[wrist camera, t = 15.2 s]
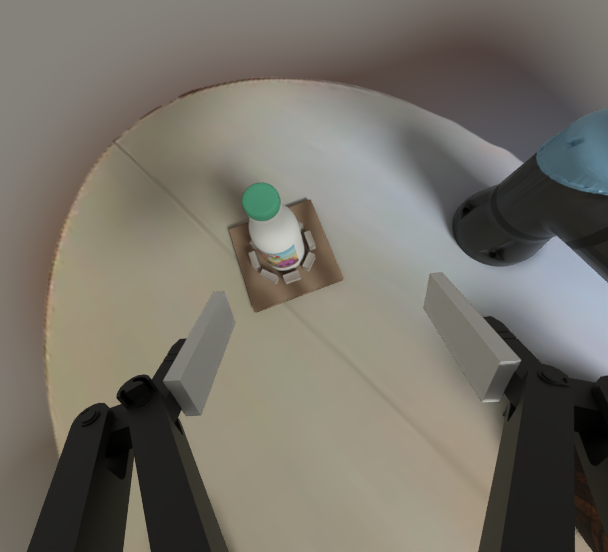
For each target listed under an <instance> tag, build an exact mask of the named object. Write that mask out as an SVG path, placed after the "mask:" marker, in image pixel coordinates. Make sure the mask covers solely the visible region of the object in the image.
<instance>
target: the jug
mask: <svg viewBox="0 0 608 552" xmlns="http://www.w3.org/2000/svg"><path fill="white" fill-rule="evenodd" d="M574 501H575V526H576V528H577V529H578V531H579V533H580V534H581V536H582V537H583V539H584V540H585V542H586V543H587V544H588V546H589V547H590V548H591V550H592V551H593V552H608V540H607V537H606V534H605V531H604V529H603V526H602V523H601V520H600V517H599V514H598V511H597V508H596V505H595V502H594V499H593V496H592V493H591V490H590V487H589V484H588V481H587V479H586V476H585V473H584V470H583V467H582V464H581V461H580V458H579V455H578V452H577V449H576V446H575V443H574Z"/></svg>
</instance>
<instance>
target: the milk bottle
mask: <svg viewBox="0 0 608 552" xmlns="http://www.w3.org/2000/svg"><path fill="white" fill-rule="evenodd" d="M242 206H243V208H244V210H245V212H246V214H247V215H248V217H249V218H250V219H249V233H250V236H251V239H252V241H253V242H254V244H255V246H256V247H257V249H258V250H259V251H260V253H261V254H262V255H263V257H264V258H265V259H266V261H267V262H268V263H269V264H270V265H271V266H272V267H273V268H275V269H277V270H280V271H289V270H292V269H294V268H296V267H297V266H298V265H299V264H300V263H301V262H302V260H303V257H304V245H303V240H302V236H301V232H300V228H299V225H298V222H297V219H296V217H295V215H294V214H293V212H292V211H291V210H290V209H289V208H288V207H286V206H285V205H283V204H281V200H280V197H279V194H278V192H277V190H276V189H275V188H274V187H273V186H272V185H270V184H267V183H256V184H253V185H251V186H250V187H249V188H247V189H246V191H245V192H244V194H243V197H242Z"/></svg>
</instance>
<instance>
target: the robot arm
mask: <svg viewBox="0 0 608 552" xmlns="http://www.w3.org/2000/svg"><path fill="white" fill-rule="evenodd" d="M453 232H454V235H455V238H456V240H457V242H458V244H459V246H460V247H461V248H462V249H463V251H464V252H465V253H466V254H468V255H469V256H470V257H472V258H473V259H475V260H477V261H479V262H481V263H483V264H487V265H491V266H509V265H513V264H516V263H518V262H521V261H524V260H526V259H528V258H529V257H531V256H532V255H534V254H535V253H536V252H537V251H538V250H539V249H540V248H541V247H542V246H543V245H544V244H545V243H546V242H548V241H549V240H550V239H551V238H552V237H554V236H556V235H557V236H558V237H559V238H560V239H561V240H562V241H563V242H565V243H566V244H567V245H568V246H569V247H570V248H571V249H572V250H573V251H574V252H575V253H577V254H578V255H579V256H580V257H581V258H582V259H583V260H584V261H585V262H586V263H587V264H588V265H589V266H591V267H592V268H593V269H594V270H595V271H596V272H597V273H598V274H599V275H600V276H601V277H602V278H603V279H605V280H606V281H607V282H608V108H607V109H603V110H599V111H596V112H592V113H590V114H587V115H585V116H583V117H581V118H579V119H578V120H576V121H574V122H573V123H572V124H570V125H569V126H568V127H566V129H564V130H563V131H561V132H560V133H559V134H558V135H556V136H555V137H552V138H550V139H549V140H548V141H546V142H545V143H544V144H543V145H542V146H541V147H540V149H539V151H538V152H537V153H536V154H534V155H533V156H532V157H531V158H530V159H528V160H527V161H526V162H525V163H524V164H522V165H521V166H520V167H519V168H518V169H516V170H515V171H514V172H513V173H512V174H511V175H509V176H508V177H507V178H506V179H505V180H504V181H502V182H501V183H500V184H498V185H495V186H493V187H490V188H487V189H485V190H482V191H480V192H478V193H476V194H474V195H472V196H471V197H469V198H468V199H467V200H466V201H465V202H464V203H463V204H462V205H461V206H460V207H459V208H458V210H457V211H456V213H455V216H454V220H453ZM424 310H425V311H426V313H427V315H428V316H429V318H430V319H431V321H432V323H433V324H434V326H435V328H436V329H437V331H438V332H439V334H440V336H441V337H442V339H443V340H444V342H445V344H446V345H447V347H448V348H449V350H450V352H451V353H452V355H453V357H454V358H455V360H456V361H457V363H458V365H459V366H460V368H461V369H462V371H463V373H464V374H465V376H466V377H467V379H468V381H469V382H470V384H471V386H472V387H473V389H474V390H475V392H476V394H477V395H478V397H479V398H480V400H481V402H498V401H500V400H501V398H502V396H503V394H505V395H506V396H507V398H508V399H509V401H510V403H509V404H508V406H507V408H506V410H505V412H504V413H503V416H505V422H504V427H503V432H502V437H501V442H500V447H499V452H498V457H497V462H496V467H495V472H494V477H493V482H492V486H491V491H490V496H489V501H488V506H487V511H486V516H485V521H484V526H483V531H482V536H481V541H480V546H479V551H478V552H575V501H574V443H575V446H576V449H577V452H578V455H579V458H580V461H581V464H582V467H583V470H584V473H585V476H586V479H587V481H588V484H589V487H590V490H591V493H592V496H593V499H594V502H595V505H596V508H597V511H598V514H599V517H600V520H601V523H602V526H603V529H604V531H605V534H606V537H607V540H608V376H602V377H600V378H599V379H598V381H597V382H596V383H593V382H587V381H582V380H577V379H572V378H569V377H568V376H567V375H566V374H564V373H563V372H561V371H560V370H558V369H556V368H554V367H552V366H549V365H545V364H542V363H540V361H539V360H538V359H537V358H536V357H535V356H534V355H533V354H532V353H531V352H530V351H529V350H528V349H527V348H526V347H525V346H524V345H523V344H522V343H521V342H520V341H519V340H518V339H516V337H515V336H514V335H513V334H512V333H511V332H510V331H509V330H508V328H507V327H506V326H505V325H504V324H503V323H501V322H500V321H498V320H496V319H495V318H493V317H491V316H489V317H482V316H481V315H480V314H479V313H478V312H477V310H476V309H475V308H474V307H473V306H472V305H471V304H470V303H469V301H468V300H467V299H466V298H465V297H464V296H463V295H462V294H461V293H460V291H459V290H458V289H457V288H456V287H455V286H454V285H453V284H452V283H451V281H450V280H449V279H448V278H447V277H446V276H445V275H444V274H443V273H430V275H429V280H428V286H427V291H426V297H425V302H424ZM234 325H235V320H234V317H233V314H232V311H231V308H230V305H229V302H228V299H227V296H226V294H225V291H218V292H213V293H212V295H211V297H210V299H209V301H208V302H207V304H206V306H205V308H204V309H203V311H202V313H201V315H200V316H199V318H198V320H197V322H196V323H195V325H194V327H193V329H192V331H191V332H190V334H189V336H188V338H187V339H179V340H178V341H177V342H176V343H175V344H174V345H173V346H172V347H171V349H170V351H169V352H168V354H167V356H166V357H165V359H164V360H163V362H162V364H161V365H160V367H159V369H158V370H157V372H156V373H155V375H154V377H153V378H152V380H151V378H150V377H149V376H148V375H138V376H136V377H133V378H131V379H130V380H128V381H127V382H126V383H125V384H124V385H123V386H122V387H121V388H120V389H119V391H118V393H117V399H118V400H119V401H120V403H121V404H120V405H117V406H114V407H112V408H109V407H108V406H107V405H106V404H105V403H97V404H94V405H92V406H90V407H88V408H86V409H85V410H84V411H83V412H81V413H80V414H79V415H78V416H77V417H76V419H75V420H74V422H73V423H72V425H71V428H70V431H69V434H68V436H67V439H66V442H65V445H64V448H63V451H62V454H61V456H60V459H59V462H58V465H57V468H56V471H55V473H54V477H53V479H52V482H51V485H50V488H49V490H48V493H47V496H46V499H45V502H44V505H43V507H42V510H41V513H40V516H39V519H38V522H37V525H36V528H35V531H34V533H33V536H32V539H31V542H30V544H29V547H28V550H27V552H123V546H124V537H125V529H126V521H127V512H128V504H129V495H130V487H131V478H132V470H133V461H134V457H135V463H136V468H137V474H138V480H139V486H140V491H141V497H142V503H143V509H144V514H145V520H146V526H147V532H148V537H149V543H150V549H151V552H228V549H227V546H226V544H225V541H224V538H223V536H222V533H221V530H220V527H219V525H218V522H217V519H216V517H215V514H214V511H213V508H212V506H211V503H210V500H209V498H208V495H207V492H206V489H205V487H204V484H203V481H202V479H201V476H200V473H199V470H198V468H197V465H196V462H195V460H194V457H193V454H192V451H191V449H190V446H189V443H188V441H187V438H186V435H185V432H184V430H183V427H182V424H181V422H180V420H179V418H178V416H179V414H180V412H181V410H182V411H183V412H184V414H185V415H186V416H198V415H201V414H202V411H203V408H204V406H205V403H206V400H207V398H208V395H209V392H210V389H211V387H212V384H213V381H214V379H215V376H216V373H217V371H218V368H219V365H220V362H221V360H222V357H223V354H224V352H225V349H226V346H227V344H228V341H229V338H230V335H231V333H232V330H233V327H234Z"/></svg>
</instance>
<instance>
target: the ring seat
mask: <svg viewBox="0 0 608 552" xmlns="http://www.w3.org/2000/svg"><path fill="white" fill-rule="evenodd" d="M289 209H290V210H291V211H292V212H293V214H294V215H295V217H296V219H297V222H298V225H299V228H300V232H301V236H302V240H303V245H304V257H303V260H302V262H301V263H300V264H299V265H298V266H297V267H296V268H294V269H292V270H289V271H280V270H277V269H275V268H273V267H272V266H271V265H270V264H269V263H268V262H267V261H266V259H265V258H264V257H263V255H262V254H261V253H260V251H259V250H258V249H257V247H256V246H255V244H254V242H253V241H252V239H251V236H250V233H249V222H248V223H245V224H242V225H240V226H237V227H234V228H232V229H229V232H230V235H231V238H232V241H233V245H234V248H235V251H236V254H237V258H238V261H239V264H240V267H241V271H242V274H243V277H244V280H245V284H246V287H247V290H248V293H249V297H250V300H251V303H252V306H253V309H254V312H259V311H262V310H264V309H267V308H270V307H272V306H275V305H278V304H280V303H283V302H286V301H288V300H291V299H294V298H296V297H299V296H302V295H304V294H307V293H310V292H313V291H315V290H318V289H321V288H323V287H326V286H329V285H331V284H334V283H337V282H339V281H342V280H343V276H342V274H341V271H340V269H339V266H338V264H337V262H336V259H335V257H334V254H333V252H332V250H331V247H330V245H329V243H328V240H327V238H326V235H325V233H324V231H323V228H322V226H321V223H320V221H319V219H318V216H317V214H316V211H315V209H314V207H313V204H312V202H311V199H310V200H308V201H305V202H302V203H299V204H297V205H294V206H291V207H289Z"/></svg>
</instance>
